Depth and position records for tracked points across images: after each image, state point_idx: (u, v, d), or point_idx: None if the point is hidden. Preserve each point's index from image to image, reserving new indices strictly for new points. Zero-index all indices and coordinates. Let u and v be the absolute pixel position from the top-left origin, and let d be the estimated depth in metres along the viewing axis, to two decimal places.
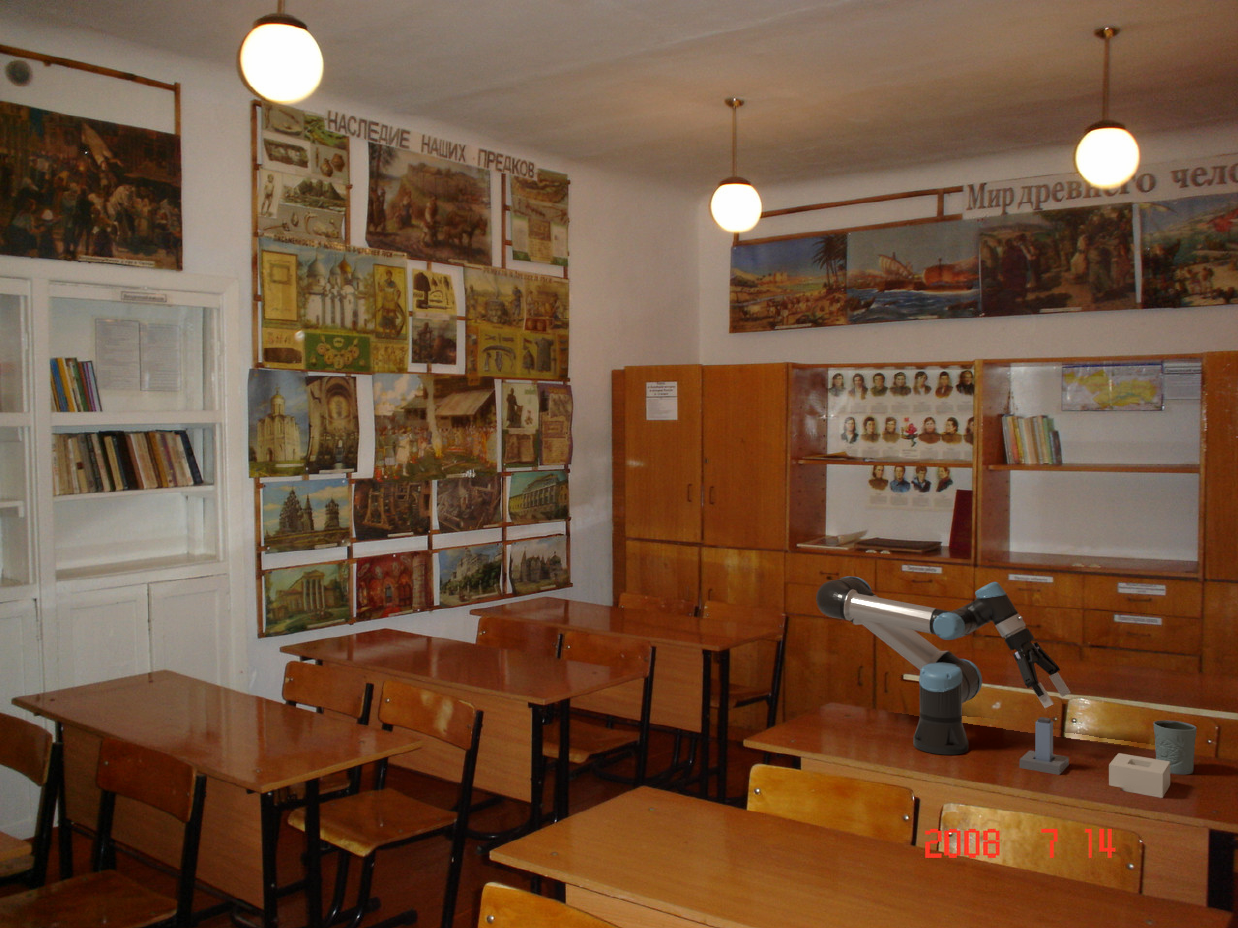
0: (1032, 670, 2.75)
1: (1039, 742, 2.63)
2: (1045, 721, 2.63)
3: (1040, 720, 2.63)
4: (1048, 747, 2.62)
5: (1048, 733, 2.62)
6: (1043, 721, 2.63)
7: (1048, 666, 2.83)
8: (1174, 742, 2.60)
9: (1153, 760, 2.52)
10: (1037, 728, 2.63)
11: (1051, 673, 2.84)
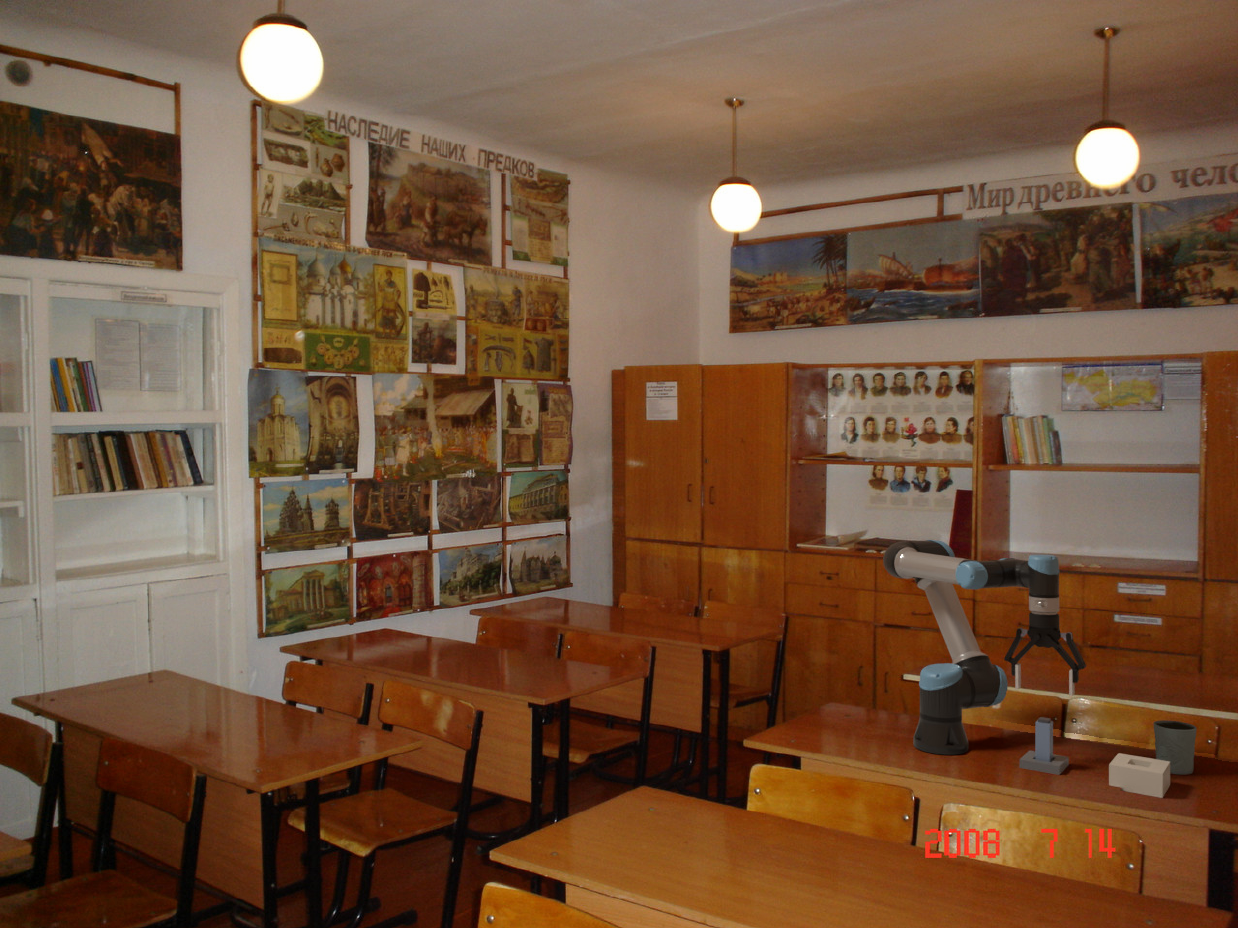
0: (1020, 651, 2.67)
1: (1039, 742, 2.63)
2: (1045, 721, 2.63)
3: (1040, 720, 2.63)
4: (1048, 747, 2.62)
5: (1048, 733, 2.62)
6: (1043, 721, 2.63)
7: None
8: (1174, 742, 2.60)
9: (1153, 760, 2.52)
10: (1037, 728, 2.63)
11: None
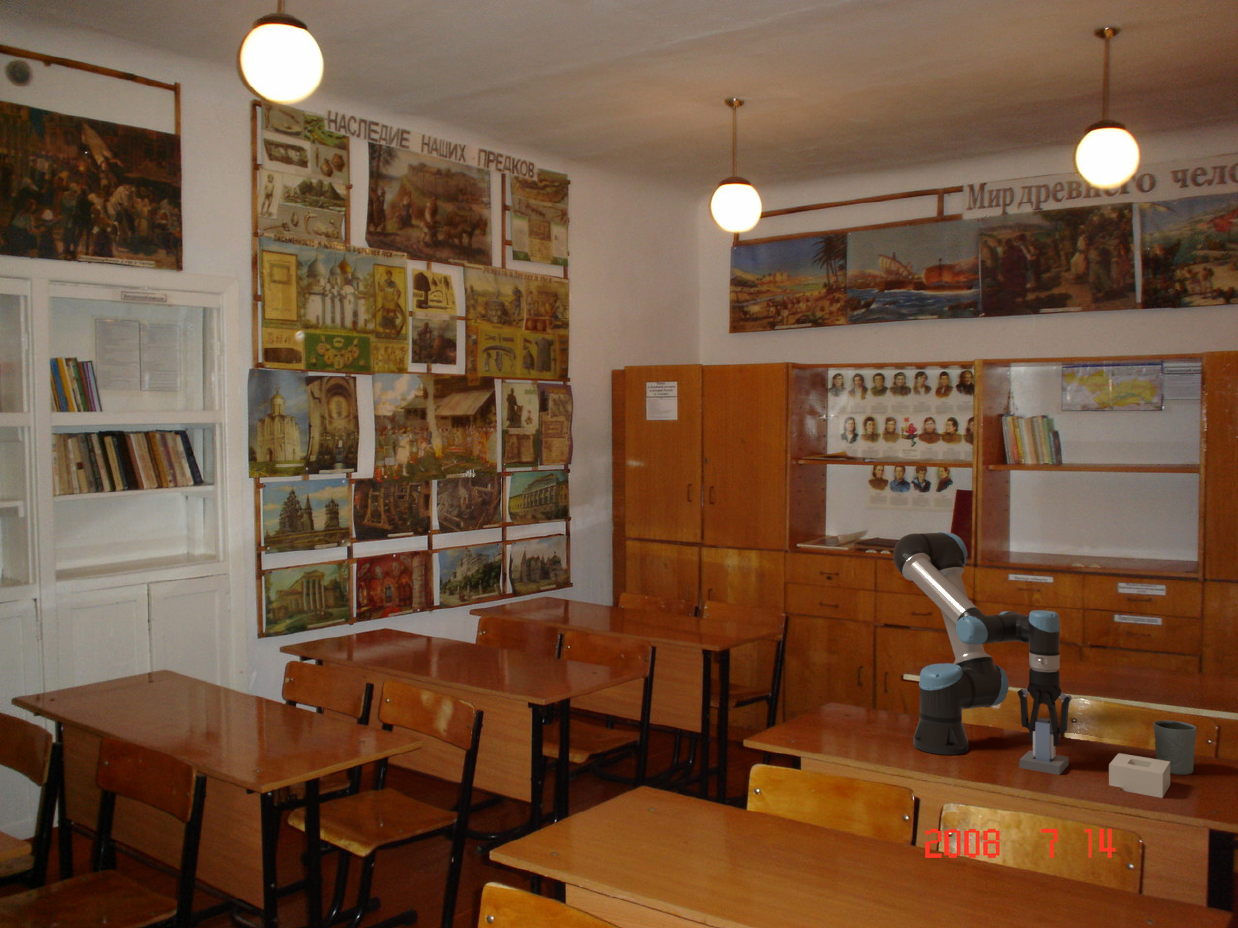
0: None
1: (1039, 742, 2.63)
2: (1045, 721, 2.63)
3: (1040, 720, 2.63)
4: (1048, 747, 2.62)
5: (1048, 733, 2.62)
6: (1043, 721, 2.63)
7: None
8: (1174, 742, 2.60)
9: (1153, 760, 2.52)
10: (1037, 728, 2.63)
11: None
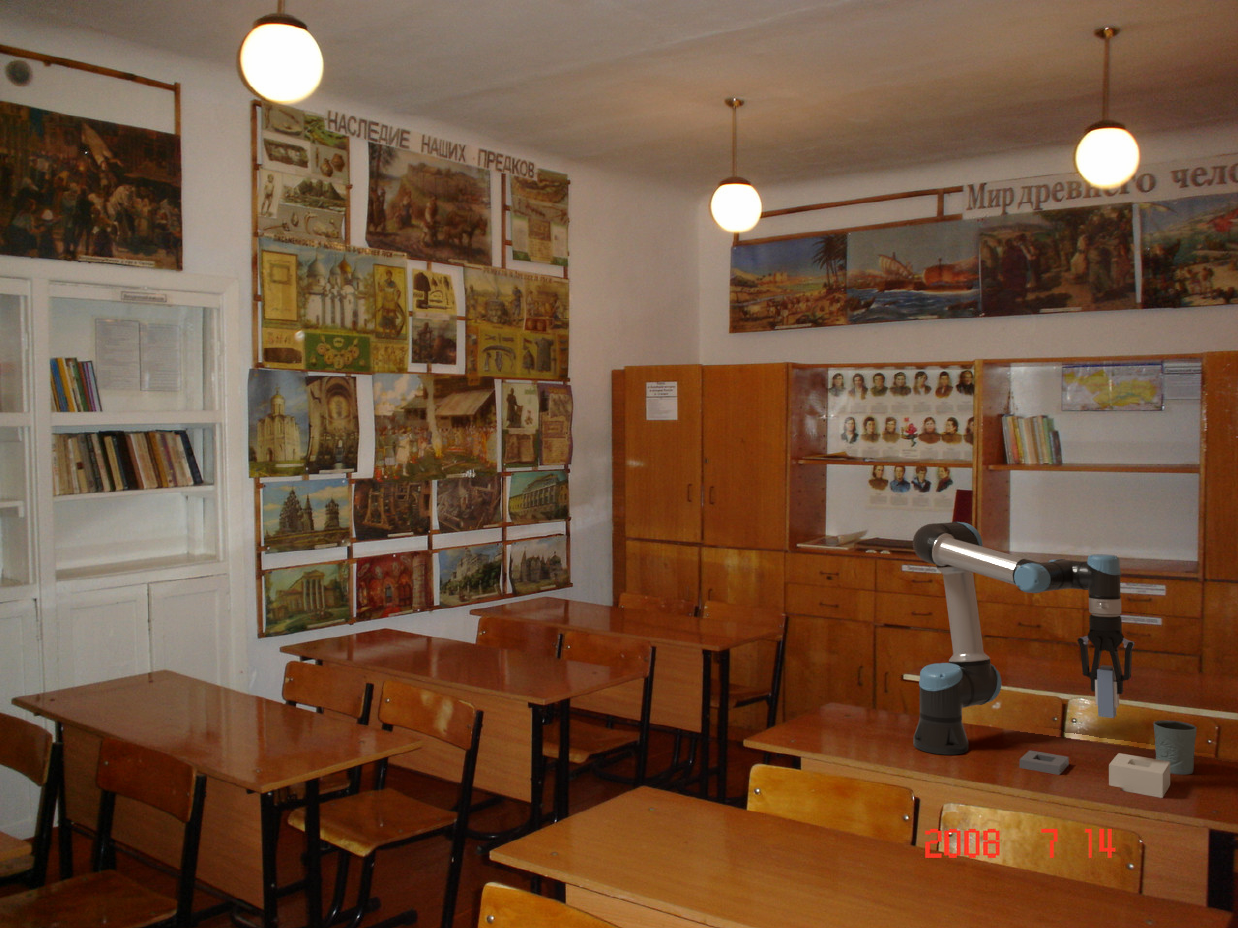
0: (1092, 663, 2.55)
1: (1102, 691, 2.53)
2: (1107, 668, 2.53)
3: (1102, 667, 2.54)
4: (1111, 695, 2.52)
5: (1111, 680, 2.52)
6: (1105, 668, 2.53)
7: None
8: (1174, 742, 2.60)
9: (1153, 760, 2.52)
10: (1099, 676, 2.54)
11: None
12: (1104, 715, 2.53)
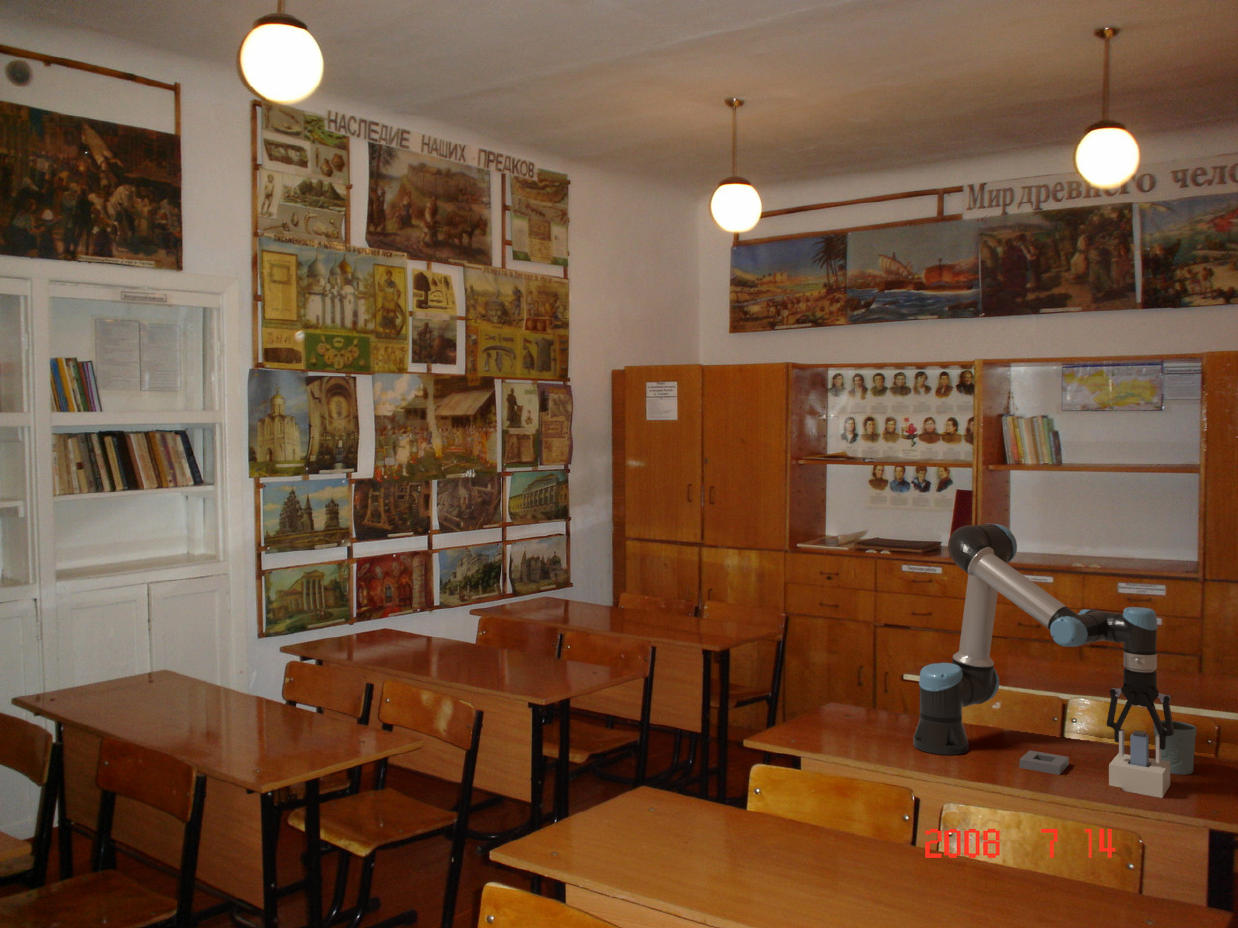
0: (1120, 715, 2.52)
1: (1135, 757, 2.49)
2: (1141, 735, 2.49)
3: (1136, 734, 2.49)
4: (1145, 762, 2.48)
5: (1145, 747, 2.48)
6: (1139, 735, 2.49)
7: None
8: (1174, 742, 2.60)
9: (1153, 760, 2.52)
10: (1132, 742, 2.49)
11: None
12: None
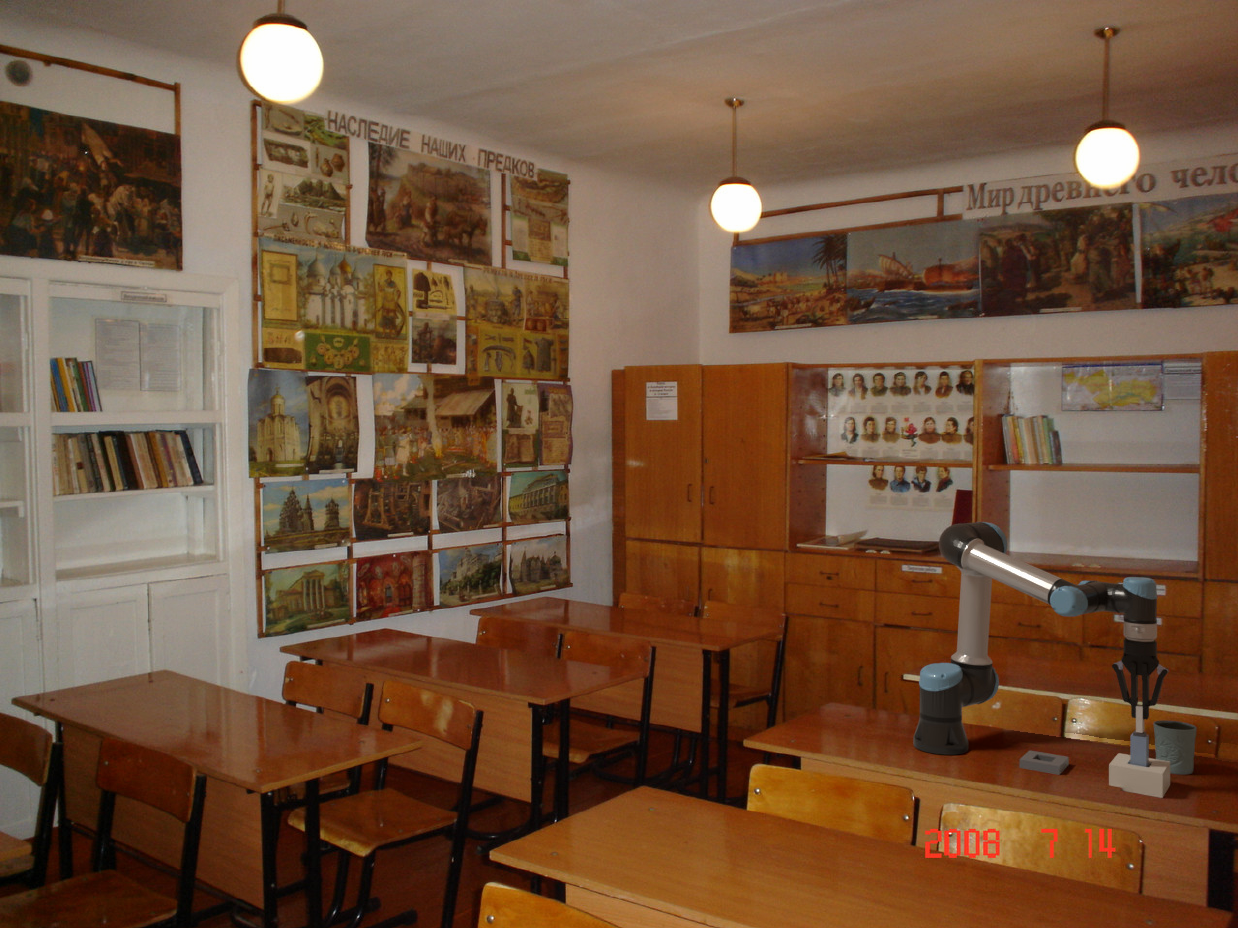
0: None
1: (1135, 757, 2.49)
2: (1141, 735, 2.49)
3: (1136, 734, 2.49)
4: (1145, 762, 2.48)
5: (1145, 747, 2.48)
6: (1139, 735, 2.49)
7: None
8: (1174, 742, 2.60)
9: (1153, 760, 2.52)
10: (1132, 742, 2.49)
11: None
12: None
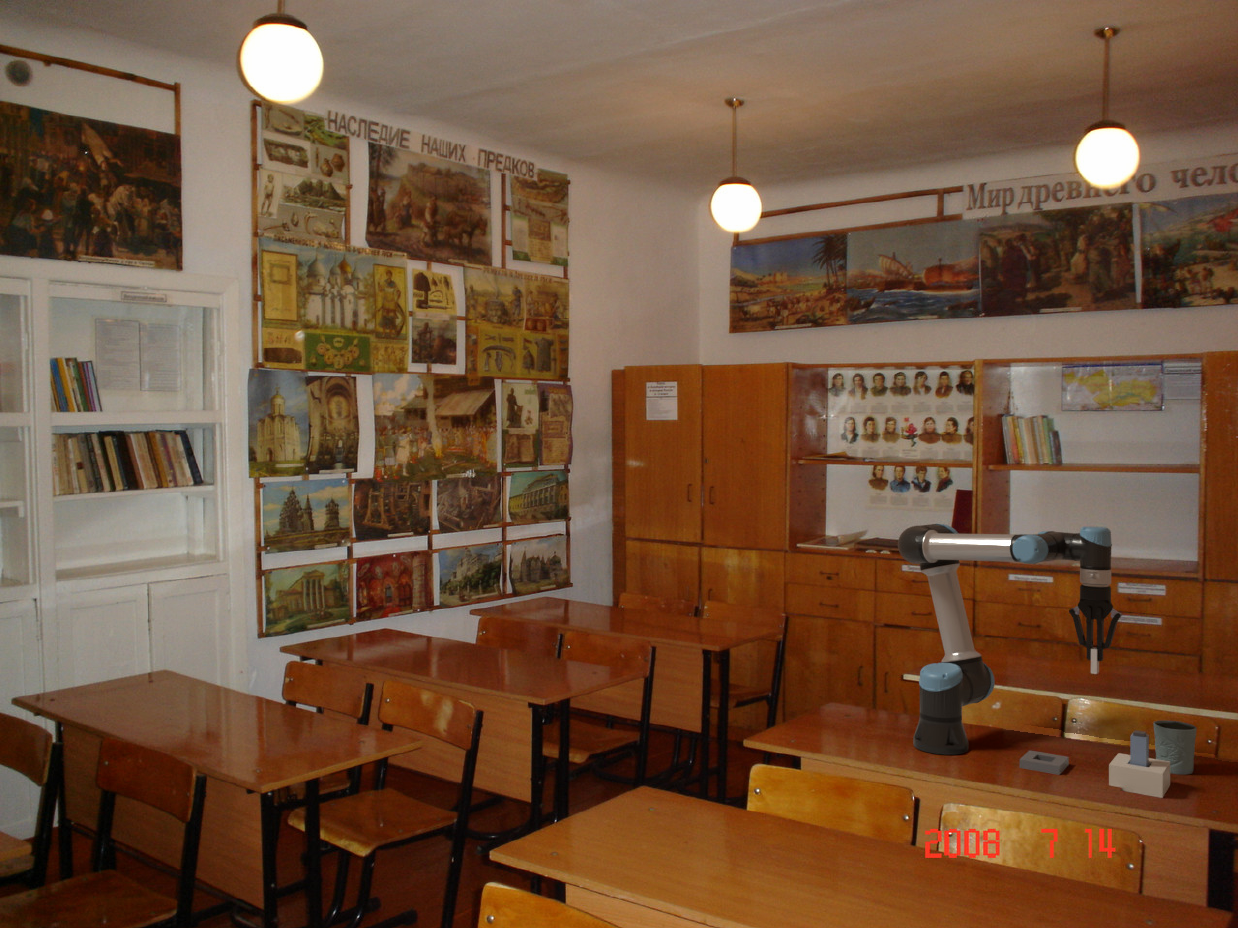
0: (1086, 632, 2.63)
1: (1135, 757, 2.49)
2: (1141, 735, 2.49)
3: (1136, 734, 2.49)
4: (1145, 762, 2.48)
5: (1145, 747, 2.48)
6: (1139, 735, 2.49)
7: None
8: (1174, 742, 2.60)
9: (1153, 760, 2.52)
10: (1132, 742, 2.49)
11: None
12: None
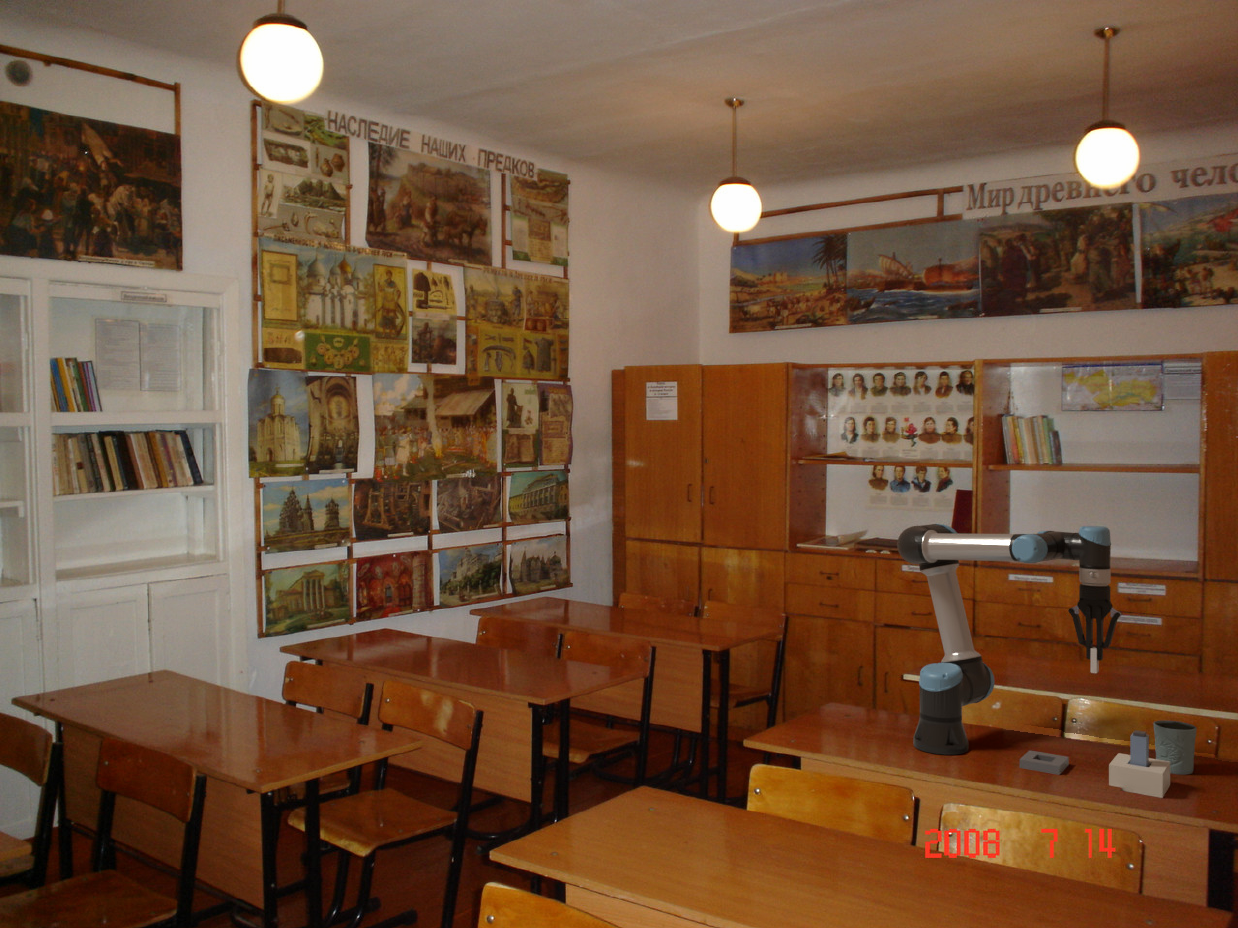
0: (1086, 632, 2.63)
1: (1135, 757, 2.49)
2: (1141, 735, 2.49)
3: (1136, 734, 2.49)
4: (1145, 762, 2.48)
5: (1145, 747, 2.48)
6: (1139, 735, 2.49)
7: None
8: (1174, 742, 2.60)
9: (1153, 760, 2.52)
10: (1132, 742, 2.49)
11: None
12: None
